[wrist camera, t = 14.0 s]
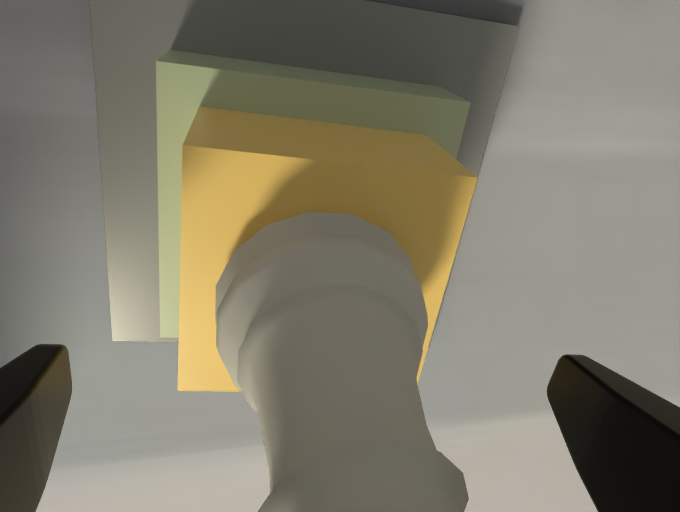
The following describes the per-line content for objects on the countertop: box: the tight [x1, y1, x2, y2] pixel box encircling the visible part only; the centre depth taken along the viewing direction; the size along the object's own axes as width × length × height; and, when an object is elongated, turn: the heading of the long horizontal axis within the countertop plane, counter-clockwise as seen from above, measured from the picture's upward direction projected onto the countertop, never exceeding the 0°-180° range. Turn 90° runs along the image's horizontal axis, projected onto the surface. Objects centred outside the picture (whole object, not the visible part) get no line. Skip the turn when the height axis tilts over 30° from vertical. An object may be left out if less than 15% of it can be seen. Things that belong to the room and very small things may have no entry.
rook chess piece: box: [215, 212, 469, 512], centre depth 8 cm, size 4×4×8 cm
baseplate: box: [90, 0, 520, 348], centre depth 16 cm, size 12×12×3 cm
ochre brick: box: [178, 106, 478, 392], centre depth 13 cm, size 6×6×4 cm
